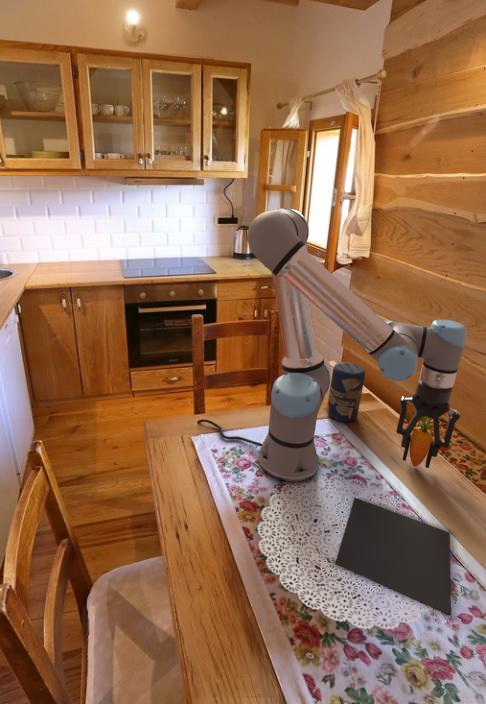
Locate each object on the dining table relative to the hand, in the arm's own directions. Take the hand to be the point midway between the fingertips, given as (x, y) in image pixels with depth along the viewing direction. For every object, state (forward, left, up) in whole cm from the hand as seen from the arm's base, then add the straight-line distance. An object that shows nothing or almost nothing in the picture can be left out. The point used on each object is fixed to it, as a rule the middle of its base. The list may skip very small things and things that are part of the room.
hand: (415, 461), depth 107 cm
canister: (-22, +15, -2) cm, 27 cm away
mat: (-2, -29, -2) cm, 30 cm away
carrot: (0, 0, -2) cm, 2 cm away
